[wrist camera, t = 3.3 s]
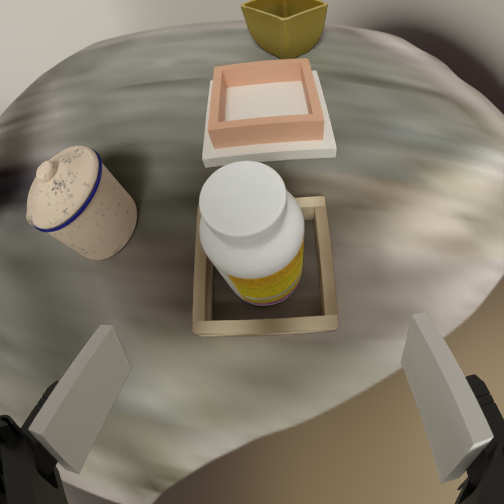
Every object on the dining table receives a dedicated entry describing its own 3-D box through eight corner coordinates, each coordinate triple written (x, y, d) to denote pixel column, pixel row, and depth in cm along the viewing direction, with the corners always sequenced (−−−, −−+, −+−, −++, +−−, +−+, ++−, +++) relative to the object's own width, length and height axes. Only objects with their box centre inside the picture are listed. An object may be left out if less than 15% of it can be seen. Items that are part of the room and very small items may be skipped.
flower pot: (328, 51, 39) (329, 2, 30) (288, 73, 38) (284, 19, 29) (287, 33, 42) (283, -11, 34) (247, 52, 41) (238, 4, 32)
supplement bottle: (317, 270, 27) (333, 194, 15) (263, 323, 26) (237, 284, 14) (266, 223, 30) (246, 129, 18) (213, 270, 29) (158, 199, 17)
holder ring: (201, 336, 27) (192, 333, 24) (204, 218, 31) (197, 206, 28) (334, 330, 25) (338, 327, 23) (322, 209, 29) (324, 196, 27)
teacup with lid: (141, 181, 34) (91, 113, 23) (140, 254, 30) (74, 197, 19) (61, 207, 34) (5, 158, 24) (54, 274, 31) (-17, 235, 20)
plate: (205, 167, 33) (194, 141, 29) (212, 88, 38) (205, 63, 34) (335, 157, 31) (339, 129, 27) (316, 79, 36) (316, 52, 32)
